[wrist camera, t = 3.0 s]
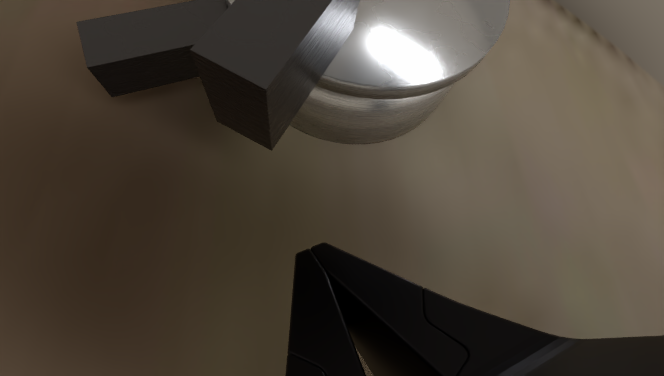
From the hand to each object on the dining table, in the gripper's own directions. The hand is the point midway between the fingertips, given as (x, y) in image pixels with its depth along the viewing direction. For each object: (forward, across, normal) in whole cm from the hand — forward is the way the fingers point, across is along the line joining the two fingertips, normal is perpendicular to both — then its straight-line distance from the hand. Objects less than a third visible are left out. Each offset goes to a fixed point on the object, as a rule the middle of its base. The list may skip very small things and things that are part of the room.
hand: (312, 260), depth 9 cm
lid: (+10, -7, -6) cm, 14 cm away
